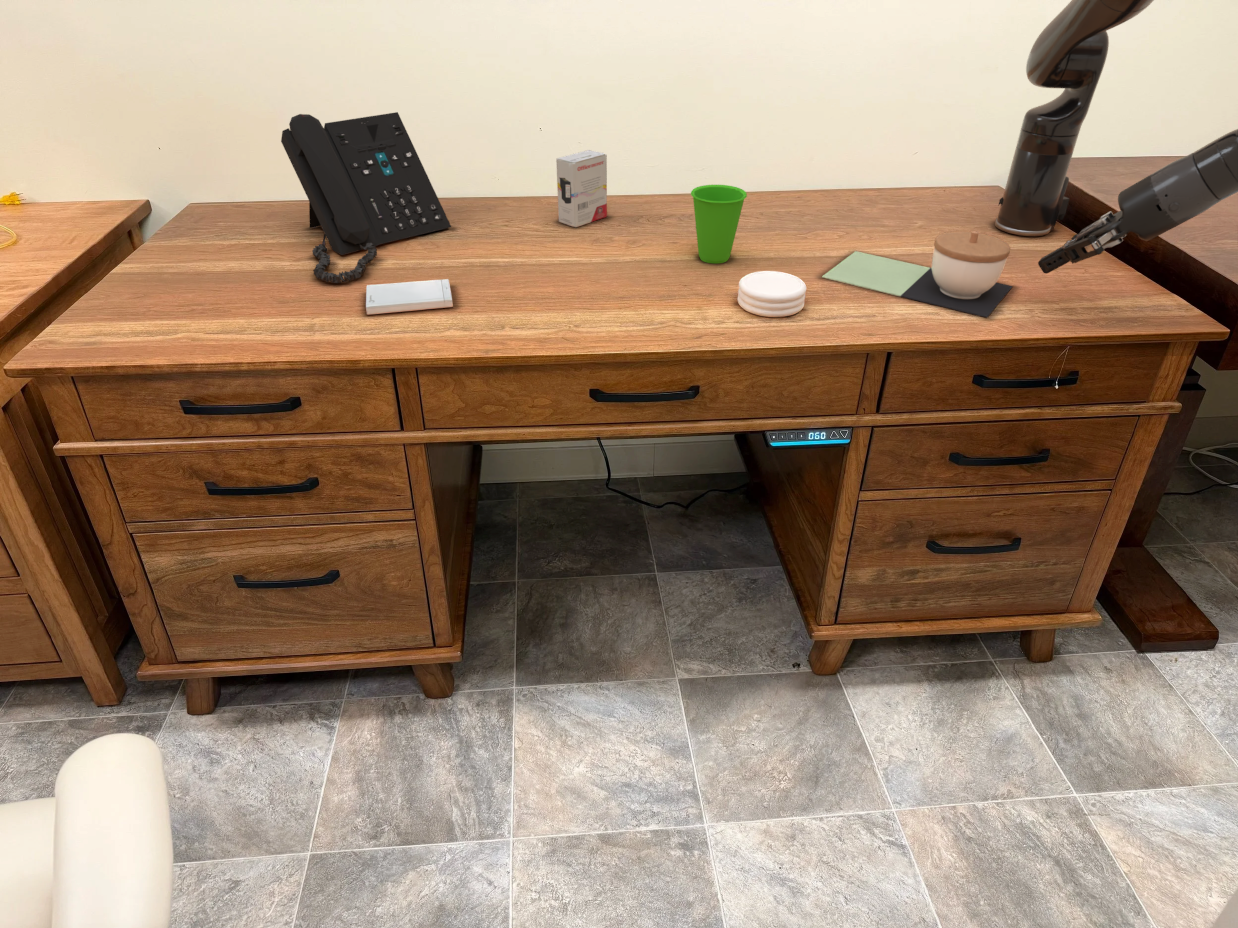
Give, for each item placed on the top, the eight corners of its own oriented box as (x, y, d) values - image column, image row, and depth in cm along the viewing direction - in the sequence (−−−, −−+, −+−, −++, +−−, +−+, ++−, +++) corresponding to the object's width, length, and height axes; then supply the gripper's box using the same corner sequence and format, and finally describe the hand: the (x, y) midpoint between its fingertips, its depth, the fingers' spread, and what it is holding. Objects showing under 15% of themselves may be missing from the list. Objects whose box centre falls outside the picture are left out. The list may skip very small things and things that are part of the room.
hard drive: (365, 306, 121) (452, 297, 123) (366, 284, 127) (448, 276, 130) (367, 316, 122) (453, 308, 124) (368, 294, 128) (449, 286, 131)
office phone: (328, 289, 130) (300, 155, 118) (256, 241, 147) (226, 120, 136) (486, 245, 146) (475, 124, 134) (404, 206, 163) (388, 96, 152)
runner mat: (1012, 287, 131) (1012, 286, 131) (987, 318, 122) (987, 316, 122) (855, 252, 144) (855, 251, 144) (821, 277, 134) (821, 276, 134)
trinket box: (999, 285, 132) (1016, 226, 126) (994, 310, 124) (1011, 249, 118) (929, 273, 135) (942, 216, 130) (919, 298, 127) (933, 238, 122)
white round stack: (731, 292, 129) (732, 270, 127) (794, 290, 130) (796, 268, 128) (744, 319, 121) (747, 297, 119) (811, 317, 122) (815, 295, 120)
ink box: (590, 211, 161) (589, 148, 154) (608, 217, 158) (608, 153, 152) (557, 222, 156) (555, 157, 149) (575, 228, 153) (573, 162, 146)
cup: (738, 270, 137) (744, 203, 131) (683, 265, 138) (687, 199, 132) (743, 250, 144) (749, 186, 138) (690, 246, 146) (694, 183, 139)
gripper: (1161, 162, 112) (1038, 233, 125) (1145, 185, 104) (1016, 259, 116) (1190, 208, 113) (1065, 274, 126) (1178, 235, 104) (1045, 303, 117)
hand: (1042, 267), depth 121 cm, fingers closed
